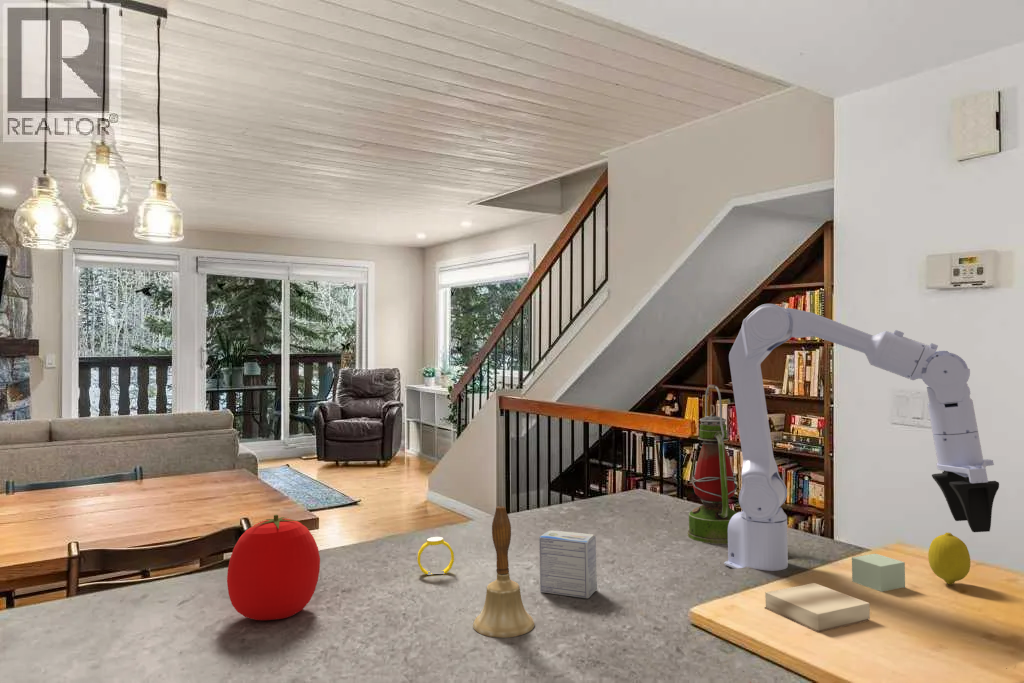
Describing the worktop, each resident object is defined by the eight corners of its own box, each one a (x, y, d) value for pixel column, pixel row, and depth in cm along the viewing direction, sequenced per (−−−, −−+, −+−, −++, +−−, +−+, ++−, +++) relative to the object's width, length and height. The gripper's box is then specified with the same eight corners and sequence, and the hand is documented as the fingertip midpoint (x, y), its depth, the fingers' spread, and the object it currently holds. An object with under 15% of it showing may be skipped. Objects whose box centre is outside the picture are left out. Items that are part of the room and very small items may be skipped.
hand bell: (513, 643, 87) (512, 516, 88) (460, 629, 92) (459, 509, 92) (545, 621, 94) (544, 503, 95) (495, 610, 99) (493, 497, 99)
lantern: (678, 528, 143) (675, 383, 144) (728, 527, 144) (725, 383, 144) (699, 547, 129) (697, 386, 130) (755, 545, 130) (752, 385, 130)
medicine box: (597, 590, 106) (596, 534, 106) (588, 600, 102) (587, 541, 102) (549, 584, 109) (549, 529, 110) (539, 593, 105) (538, 536, 106)
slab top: (765, 607, 95) (765, 592, 95) (814, 597, 98) (814, 582, 98) (818, 630, 86) (817, 614, 86) (869, 618, 90) (869, 603, 90)
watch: (419, 579, 113) (416, 543, 113) (418, 574, 116) (415, 539, 116) (455, 574, 114) (452, 538, 114) (453, 569, 117) (450, 534, 117)
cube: (852, 590, 105) (851, 557, 105) (875, 585, 107) (875, 553, 107) (881, 601, 100) (880, 566, 101) (905, 596, 102) (904, 562, 103)
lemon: (977, 591, 104) (976, 537, 104) (937, 589, 105) (935, 536, 105) (961, 579, 109) (960, 528, 109) (923, 577, 110) (921, 527, 110)
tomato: (231, 638, 90) (230, 528, 90) (223, 609, 100) (223, 511, 100) (329, 619, 96) (328, 517, 96) (312, 595, 106) (311, 502, 106)
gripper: (1005, 433, 94) (1024, 534, 93) (969, 425, 108) (985, 513, 106) (946, 439, 96) (964, 538, 95) (918, 430, 110) (933, 517, 108)
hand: (971, 525), depth 101 cm, fingers open, 7 cm apart
